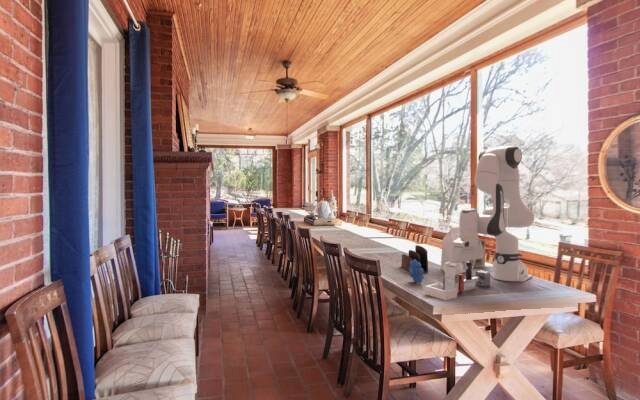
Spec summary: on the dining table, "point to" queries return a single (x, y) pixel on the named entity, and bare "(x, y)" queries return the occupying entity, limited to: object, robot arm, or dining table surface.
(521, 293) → the dining table surface
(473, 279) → the linear slider rail
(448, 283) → the syrup box
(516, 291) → the dining table surface
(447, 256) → the milk
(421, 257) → the letter holder
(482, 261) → the coffee box
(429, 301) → the dining table surface
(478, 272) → the grey hollow block
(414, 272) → the grapes
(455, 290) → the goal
